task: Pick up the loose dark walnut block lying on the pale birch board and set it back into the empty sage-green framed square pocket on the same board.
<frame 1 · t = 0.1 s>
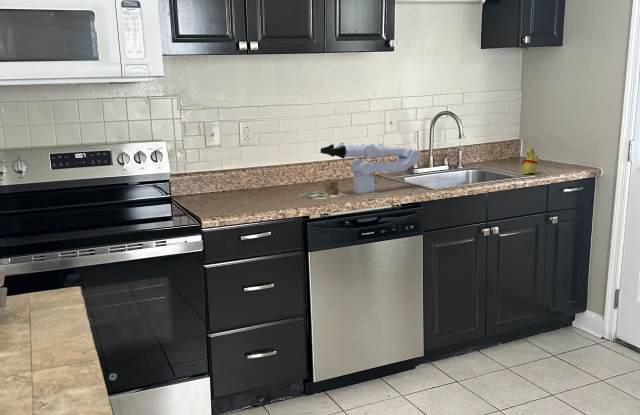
hand: (325, 151, 287), 22 cm above the countertop, tool horizontal, fingers open, 7 cm apart
cupcake: (367, 182, 331), on the countertop
walnut block: (331, 194, 295), point 1 cm above the countertop, touching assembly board
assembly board: (323, 197, 294), on the countertop
chocolate bunny: (528, 174, 342), on the countertop
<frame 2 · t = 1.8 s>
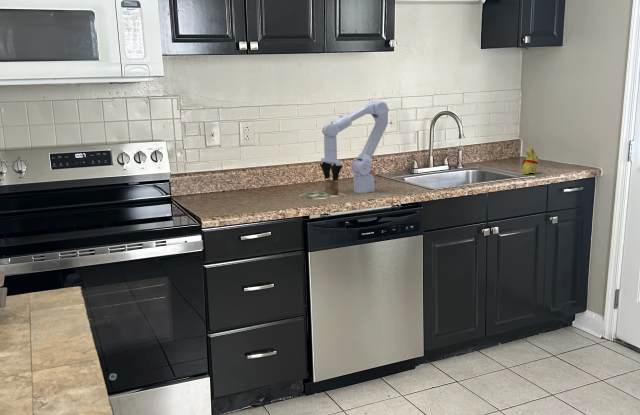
hand: (331, 179, 294), 8 cm above the countertop, tool pointing down, fingers open, 7 cm apart
nothing on the countertop moved.
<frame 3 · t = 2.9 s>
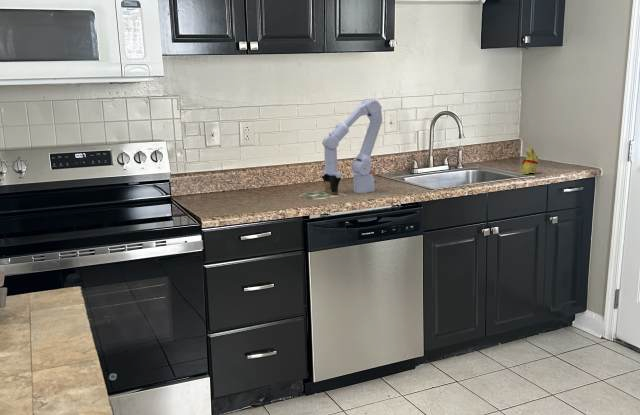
hand: (331, 191, 295), 2 cm above the countertop, tool pointing down, fingers closed on walnut block, 4 cm apart
walnut block: (331, 194, 295), point 1 cm above the countertop, touching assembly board, gripper
everything else where it was.
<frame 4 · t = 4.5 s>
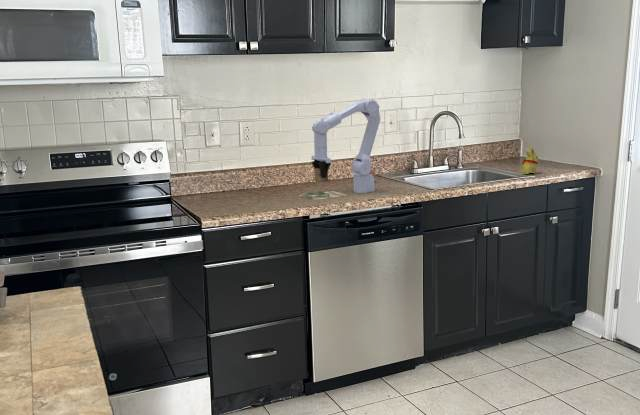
hand: (321, 177, 291), 10 cm above the countertop, tool pointing down, fingers closed on walnut block, 4 cm apart
walnut block: (321, 181, 292), point 8 cm above the countertop, touching gripper
everything else where it was.
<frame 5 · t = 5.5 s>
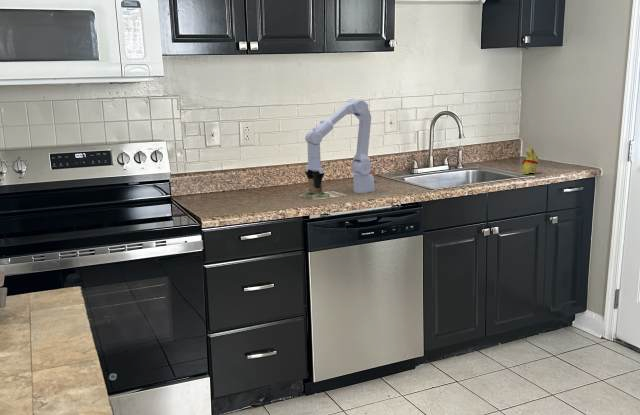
hand: (315, 187, 290), 5 cm above the countertop, tool pointing down, fingers closed on walnut block, 4 cm apart
walnut block: (315, 191, 291), point 3 cm above the countertop, touching gripper
everything else where it was.
when the fingers open (4 cm above the countertop, at t = 6.2 s): walnut block stays where it is, resting on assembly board.
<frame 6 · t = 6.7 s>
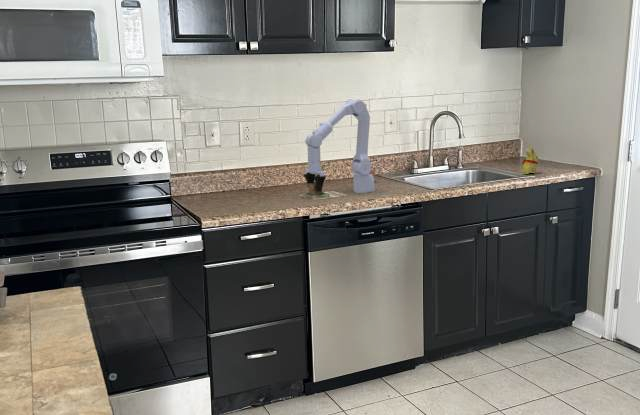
hand: (315, 190, 291), 4 cm above the countertop, tool pointing down, fingers open, 7 cm apart
walnut block: (315, 196, 291), point 1 cm above the countertop, touching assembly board
everything else where it was.
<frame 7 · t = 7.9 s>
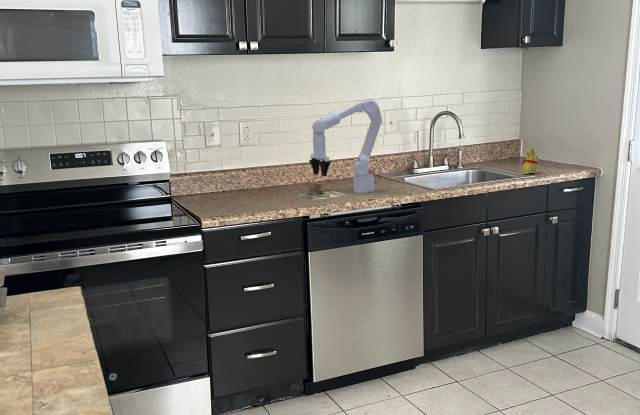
hand: (320, 175, 298), 9 cm above the countertop, tool pointing down, fingers open, 7 cm apart
nothing on the countertop moved.
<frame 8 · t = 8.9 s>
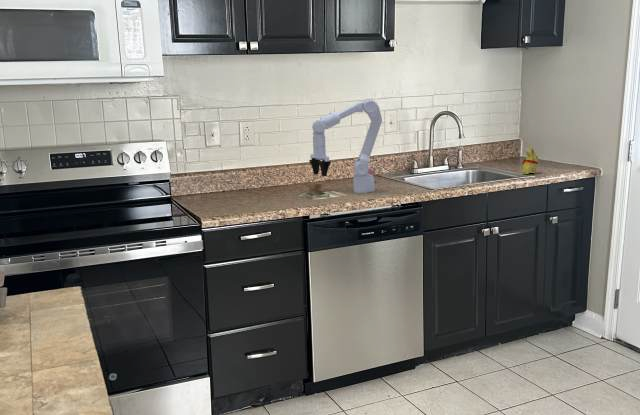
hand: (320, 175, 298), 9 cm above the countertop, tool pointing down, fingers open, 7 cm apart
nothing on the countertop moved.
at the end: walnut block 0.1 cm from the target spot on the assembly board, point 1.0 cm above the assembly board's base; walnut block tilted 0°; the gripper is holding nothing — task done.
